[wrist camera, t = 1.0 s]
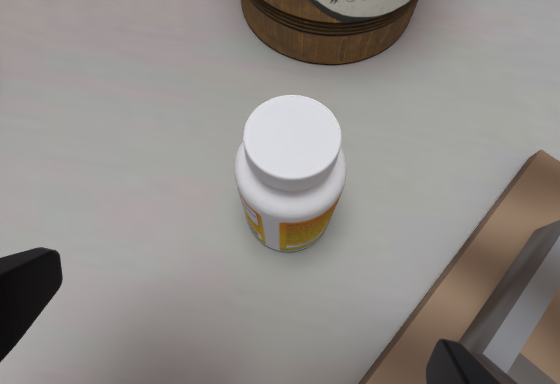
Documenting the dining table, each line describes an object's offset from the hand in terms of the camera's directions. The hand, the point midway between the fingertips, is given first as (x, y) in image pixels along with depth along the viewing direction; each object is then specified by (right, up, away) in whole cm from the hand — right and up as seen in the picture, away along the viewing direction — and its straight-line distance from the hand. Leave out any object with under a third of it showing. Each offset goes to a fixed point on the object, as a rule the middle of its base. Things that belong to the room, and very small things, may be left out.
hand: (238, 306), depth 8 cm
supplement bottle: (+1, +1, +15) cm, 15 cm away
